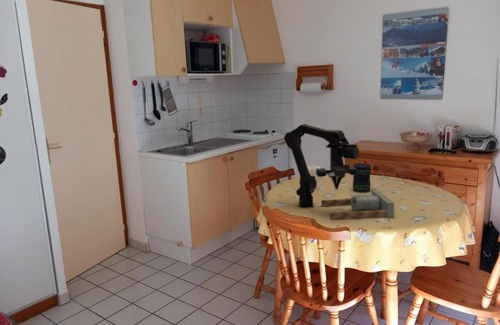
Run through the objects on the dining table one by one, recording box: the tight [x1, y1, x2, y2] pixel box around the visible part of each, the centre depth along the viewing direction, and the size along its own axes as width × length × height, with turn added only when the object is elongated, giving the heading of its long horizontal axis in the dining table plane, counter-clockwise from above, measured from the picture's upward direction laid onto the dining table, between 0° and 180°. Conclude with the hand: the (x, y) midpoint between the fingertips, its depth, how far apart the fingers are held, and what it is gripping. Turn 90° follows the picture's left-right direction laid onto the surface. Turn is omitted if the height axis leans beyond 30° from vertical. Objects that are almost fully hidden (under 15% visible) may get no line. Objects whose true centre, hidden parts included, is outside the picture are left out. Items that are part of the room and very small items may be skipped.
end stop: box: [371, 189, 395, 219], centre depth 187 cm, size 3×22×7 cm, turn 1°
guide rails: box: [321, 198, 387, 221], centre depth 187 cm, size 26×21×3 cm
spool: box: [350, 193, 380, 212], centre depth 186 cm, size 14×10×10 cm
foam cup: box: [307, 165, 321, 191], centre depth 227 cm, size 10×9×13 cm
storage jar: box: [352, 163, 372, 194], centre depth 219 cm, size 10×10×15 cm
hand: (336, 189), depth 185 cm, fingers closed
